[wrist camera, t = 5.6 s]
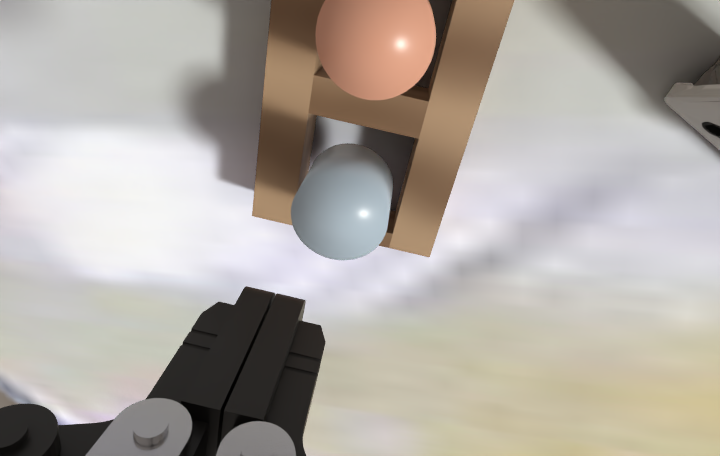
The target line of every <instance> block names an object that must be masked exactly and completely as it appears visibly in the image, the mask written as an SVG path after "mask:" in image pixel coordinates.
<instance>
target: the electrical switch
mask: <svg viewBox="0 0 720 456" xmlns="http://www.w3.org/2000/svg"><path fill="white" fill-rule="evenodd" d="M664 101H665V103H666V104H667V105H668V106H669V107H670V108H671V109H672V110H673V111H675V112H676V113H677V114H678V115H679V116H680V117H682V118H683V119H684V120H685V121H686V122H687V123H688V124H690V125H691V126H692V127H693V128H694V129H695V130H696V131H698V132H699V133H700V134H701V135H702V136H703V137H705V138H706V139H707V140H708V141H709V142H710V143H711V144H713V145H714V146H715V147H716V148H717V149H718V150H719V151H720V58H719V60H718V61H717V62H716V63H715V64H714V65H713V66H712V67H711V68H710V69H709V70H707V71H706V72H705V73H704V74H703V75H702V76H701V77H700V79H699V80H698V81H697V82H696V83H695V84H694V85H693V83H675V84H674V85H673V87H672V88H671V89H670V91H669V92H668V94H667V95H666V97H665V98H664Z"/></svg>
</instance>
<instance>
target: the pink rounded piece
mask: <svg viewBox="0 0 720 456" xmlns="http://www.w3.org/2000/svg"><path fill="white" fill-rule="evenodd" d="M315 36H316V47H317V52H318V56H319V59H320V61H321V64H322V66H323V68H324V70H325V71H326V73H327V74H328V76H329V77H330V78H331V80H332V81H333V82H334V83H335V84H336V85H337V86H339V87H340V88H341V89H342V90H344V91H345V92H347V93H349V94H351V95H353V96H355V97H358V98H361V99H366V100H385V99H390V98H393V97H396V96H398V95H401V94H402V93H404V92H406V91H407V90H409V89H410V88H412V87H413V86H414V85H415V84H416V83H417V82H418V81H419V80H420V79H421V77H422V76H423V75H424V73H425V72H426V70H427V69H428V66H429V64H430V62H431V60H432V57H433V54H434V49H435V43H436V27H435V22H434V17H433V12H432V8H431V5H430V2H429V0H325V1H324V3H323V5H322V7H321V10H320V12H319V15H318V19H317V24H316V34H315Z"/></svg>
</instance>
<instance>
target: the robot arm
mask: <svg viewBox="0 0 720 456" xmlns="http://www.w3.org/2000/svg"><path fill="white" fill-rule="evenodd" d="M304 308H305V300H303V299H298V298H294V297H290V296H286V295H281V294H276V296H275V293H272V292H268V291H264V290H260V289H255V288H251V287H247V286H246V287H245V288H244V289H243V291H242V293H241V295H240V296H239V298H238V300H237V302H236V304H235V305H231V304H227V303H222V302H218V303H216V304H215V305H213V306H212V307H210V308H209V309H207V310H206V311H204V312H203V313H202V314H201V315H200V317H199V318H198V320H197V321H196V323H195V324H194V326H193V328H192V330H191V332H189V334H188V335H187V337H186V338H185V340H184V341H183V345H181V346H180V348H179V349H178V351H177V352H176V354H175V355H174V357H173V358H172V360H171V362H170V363H169V365H168V366H167V368H166V369H165V371H164V372H163V374H162V375H161V377H160V379H159V380H158V382H157V383H156V385H155V386H154V388H153V389H152V391H151V392H150V394H149V395H148V397H147V398H146V399H145V400H142V401H139V402H137V403H135V404H132V405H131V406H129V407H127V408H126V409H124V410H123V411H122V412H121V413H120V414H119V415H118V416H117V417H116V418H115V419H113V420H110V421H106V422H100V423H89V424H73V425H58V422H57V419H56V417H55V415H54V414H53V413H52V412H51V411H50V410H49V409H47V408H45V407H43V406H39V405H35V404H17V405H11V406H7V407H3V408H1V409H0V456H306V454H305V451H304V447H303V434H304V430H305V426H306V421H307V417H308V413H309V409H310V405H311V401H312V397H313V393H314V389H315V385H316V381H317V376H318V372H319V368H320V363H321V359H322V355H323V350H324V346H325V339H324V335H323V332H322V328H321V325H316V324H312V323H308V322H304V321H302V318H303V313H304Z"/></svg>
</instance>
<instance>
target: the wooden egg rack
mask: <svg viewBox="0 0 720 456" xmlns="http://www.w3.org/2000/svg"><path fill="white" fill-rule="evenodd" d="M324 1H325V0H272V1H271V12H270V23H269V34H268V45H267V56H266V67H265V78H264V90H263V101H262V112H261V123H260V134H259V145H258V156H257V167H256V179H255V190H254V201H253V212H252V216H255V217H259V218H263V219H267V220H272V221H276V222H280V223H285V224H289V225H292V220H291V206H292V202H293V199H294V197H295V195H296V193H297V191H298V189H299V188H300V186H301V184H302V182H303V181H304V179H305V177H306V175H307V173H308V170H309V164H310V157H311V151H312V144H313V137H314V131H315V124H316V118H317V115H318V116H322V117H327V118H331V119H335V120H340V121H344V122H348V123H353V124H357V125H361V126H365V127H370V128H374V129H378V130H383V131H387V132H391V133H396V134H400V135H404V136H409V137H413V138H415V140H414V144H413V147H412V151H411V155H410V159H409V162H408V166H407V170H406V173H405V177H404V181H403V185H402V188H401V192H400V196H399V199H398V203H397V207H396V211H393V210H390V213H389V220H388V227H387V231H386V234H385V236H384V238H383V240H382V242H381V243H380V244H379V246H383V247H388V248H392V249H396V250H401V251H405V252H409V253H413V254H418V255H422V256H426V257H430V254H431V251H432V248H433V245H434V242H435V239H436V236H437V233H438V229H439V226H440V223H441V220H442V217H443V214H444V211H445V208H446V205H447V202H448V199H449V196H450V193H451V190H452V187H453V184H454V181H455V178H456V175H457V172H458V169H459V166H460V163H461V160H462V157H463V154H464V151H465V148H466V145H467V142H468V139H469V136H470V133H471V130H472V127H473V124H474V121H475V118H476V115H477V112H478V109H479V106H480V102H481V99H482V96H483V93H484V90H485V87H486V84H487V81H488V78H489V75H490V72H491V69H492V66H493V63H494V60H495V57H496V54H497V51H498V48H499V45H500V42H501V39H502V36H503V33H504V30H505V27H506V24H507V21H508V18H509V15H510V12H511V9H512V6H513V3H514V0H452V2H451V6H450V10H449V14H448V17H447V21H446V25H445V28H444V32H443V36H442V40H441V43H440V47H439V51H438V54H437V58H436V62H435V66H434V69H433V73H432V77H431V80H430V84H429V88H424V87H420V86H416V85H414V86H413V87H412V88H410V89H409V90H407V91H406V92H404V93H402V94H401V95H398V96H396V97H393V98H390V99H385V100H366V99H361V98H358V97H355V96H353V95H351V94H349V93H347V92H345V91H344V90H342V89H341V88H340V87H339V86H337V85H336V84H335V83H334V82H333V81H332V80H331V78H330V77H329V76H328V74H327V73H326V71H325V70H324V68H323V66H322V64H321V61H320V59H319V56H318V52H317V47H316V36H315V34H316V24H317V19H318V15H319V12H320V10H321V7H322V5H323V3H324Z"/></svg>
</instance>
